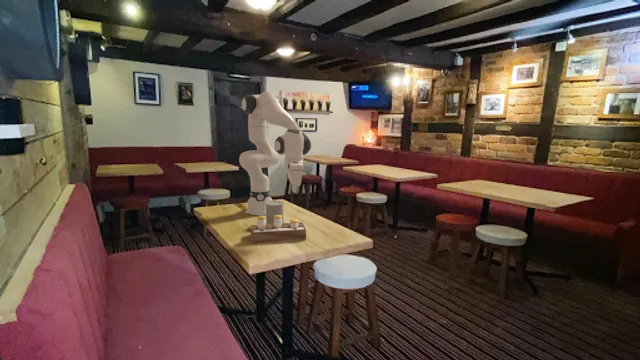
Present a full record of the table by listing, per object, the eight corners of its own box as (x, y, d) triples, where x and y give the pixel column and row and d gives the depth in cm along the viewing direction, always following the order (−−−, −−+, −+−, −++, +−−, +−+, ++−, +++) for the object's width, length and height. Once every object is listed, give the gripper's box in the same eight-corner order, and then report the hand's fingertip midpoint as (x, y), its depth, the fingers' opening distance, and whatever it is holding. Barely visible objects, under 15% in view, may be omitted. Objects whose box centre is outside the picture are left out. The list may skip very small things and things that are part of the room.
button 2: (289, 234, 169) (289, 219, 167) (297, 233, 169) (297, 218, 168) (290, 236, 165) (290, 221, 163) (298, 236, 165) (298, 221, 164)
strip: (253, 230, 159) (253, 229, 159) (303, 227, 164) (303, 226, 164) (253, 232, 157) (253, 231, 156) (303, 229, 161) (304, 228, 161)
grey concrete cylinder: (280, 228, 179) (280, 205, 177) (263, 226, 181) (263, 204, 179) (285, 222, 188) (285, 201, 186) (269, 221, 190) (269, 200, 188)
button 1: (257, 231, 165) (256, 215, 163) (265, 230, 166) (265, 215, 164) (257, 233, 161) (257, 218, 159) (266, 233, 162) (265, 217, 160)
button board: (251, 234, 169) (251, 224, 168) (302, 231, 174) (302, 222, 173) (251, 243, 157) (251, 232, 156) (306, 239, 162) (306, 229, 161)
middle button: (273, 230, 166) (273, 215, 165) (281, 229, 167) (281, 214, 166) (274, 232, 163) (274, 217, 161) (282, 232, 163) (282, 216, 162)
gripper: (285, 160, 170) (285, 187, 172) (290, 166, 150) (290, 196, 153) (297, 160, 171) (297, 187, 174) (303, 166, 152) (303, 196, 154)
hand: (294, 191), depth 163 cm, fingers closed
